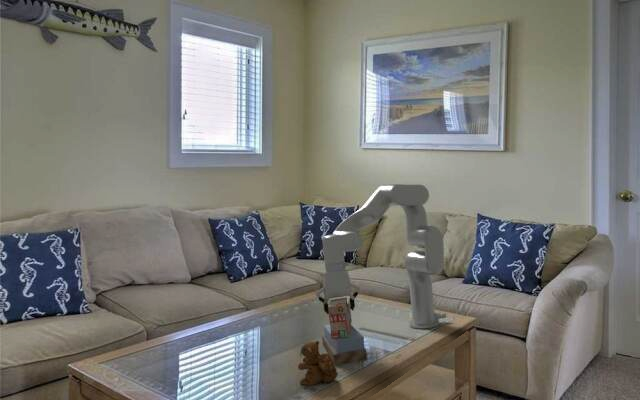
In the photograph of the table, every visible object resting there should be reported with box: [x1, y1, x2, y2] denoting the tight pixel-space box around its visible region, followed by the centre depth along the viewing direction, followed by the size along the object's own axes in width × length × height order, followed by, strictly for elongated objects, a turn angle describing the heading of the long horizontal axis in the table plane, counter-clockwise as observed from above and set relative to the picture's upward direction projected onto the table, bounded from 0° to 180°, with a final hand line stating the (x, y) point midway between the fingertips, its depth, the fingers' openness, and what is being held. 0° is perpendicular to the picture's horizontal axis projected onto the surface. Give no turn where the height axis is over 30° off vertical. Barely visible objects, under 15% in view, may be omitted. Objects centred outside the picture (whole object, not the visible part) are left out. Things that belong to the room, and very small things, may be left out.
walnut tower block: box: [321, 334, 368, 366], centre depth 218 cm, size 12×25×4 cm, turn 9°
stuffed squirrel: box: [297, 340, 339, 386], centre depth 191 cm, size 10×14×13 cm
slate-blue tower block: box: [323, 323, 366, 353], centre depth 218 cm, size 10×23×4 cm, turn 11°
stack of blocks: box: [328, 296, 352, 339], centre depth 219 cm, size 21×6×12 cm, turn 173°
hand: (339, 311), depth 218 cm, fingers open, 9 cm apart
